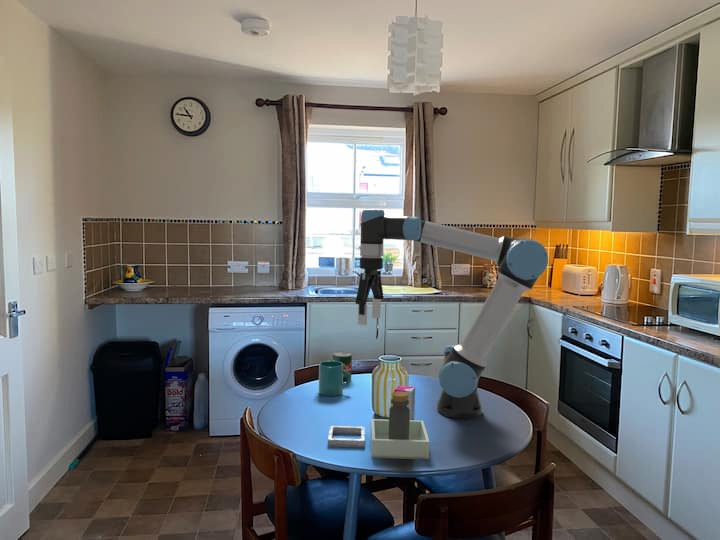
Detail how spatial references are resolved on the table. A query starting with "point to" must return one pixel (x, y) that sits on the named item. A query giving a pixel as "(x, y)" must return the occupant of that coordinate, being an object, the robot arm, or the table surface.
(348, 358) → the canned tomato
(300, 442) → the table surface
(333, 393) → the cup
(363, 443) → the collar
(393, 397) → the bottle
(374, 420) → the bin
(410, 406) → the supplement box
